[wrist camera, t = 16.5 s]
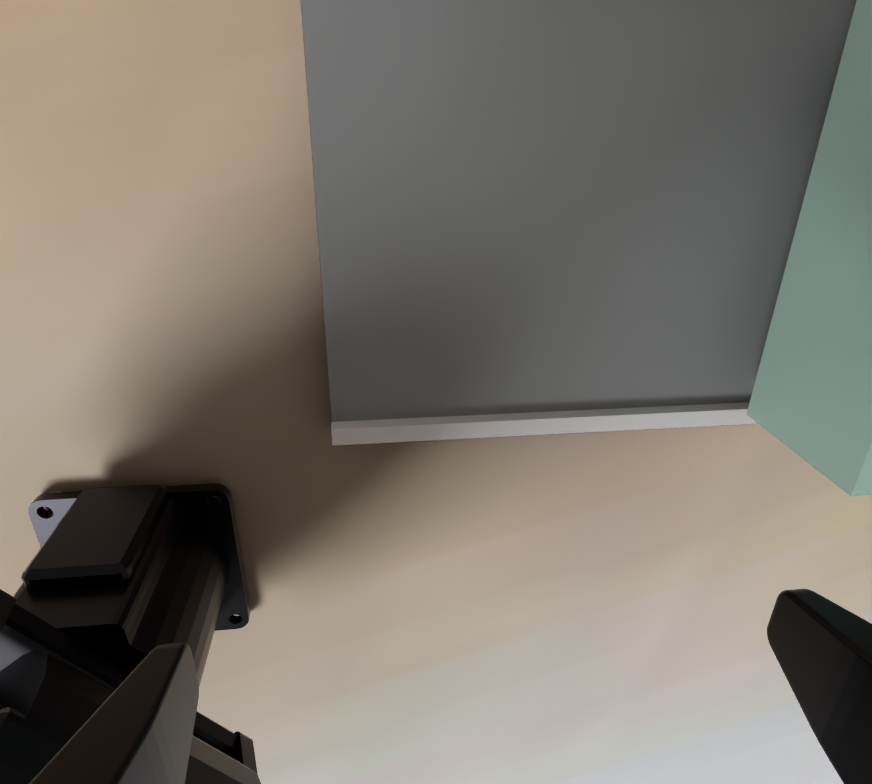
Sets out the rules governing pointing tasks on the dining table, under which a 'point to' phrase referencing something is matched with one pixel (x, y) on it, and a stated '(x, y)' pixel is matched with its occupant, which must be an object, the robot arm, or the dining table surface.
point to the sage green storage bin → (829, 292)
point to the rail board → (557, 206)
